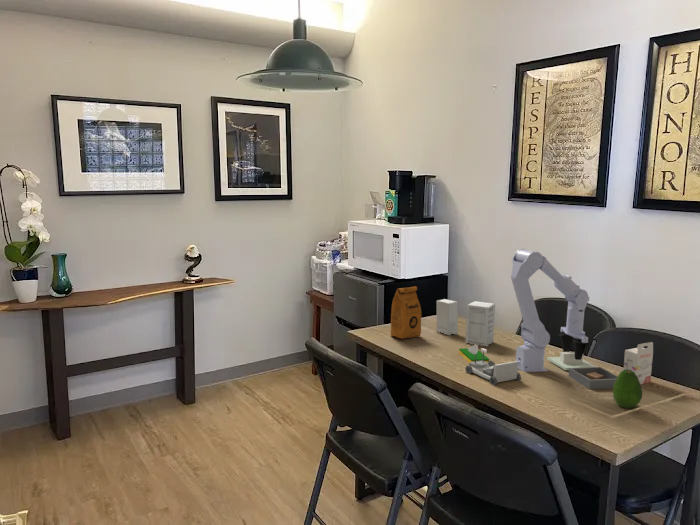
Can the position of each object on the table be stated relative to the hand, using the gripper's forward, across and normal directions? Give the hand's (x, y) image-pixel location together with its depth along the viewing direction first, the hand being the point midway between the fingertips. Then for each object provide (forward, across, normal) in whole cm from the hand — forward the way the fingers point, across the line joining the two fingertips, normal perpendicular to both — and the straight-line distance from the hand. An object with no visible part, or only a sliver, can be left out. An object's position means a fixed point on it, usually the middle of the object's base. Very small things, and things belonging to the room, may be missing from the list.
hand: (572, 356), depth 200 cm
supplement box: (+4, +33, +22) cm, 40 cm away
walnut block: (+3, -17, +2) cm, 17 cm away
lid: (+3, 0, 0) cm, 3 cm away
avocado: (+4, -37, +5) cm, 38 cm away
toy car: (+5, -5, +34) cm, 35 cm away
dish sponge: (+5, +13, +33) cm, 36 cm away
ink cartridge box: (+4, -18, -13) cm, 23 cm away
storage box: (+4, -17, +2) cm, 18 cm away
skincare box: (+4, +49, +31) cm, 58 cm away
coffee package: (+4, +45, +51) cm, 68 cm away
